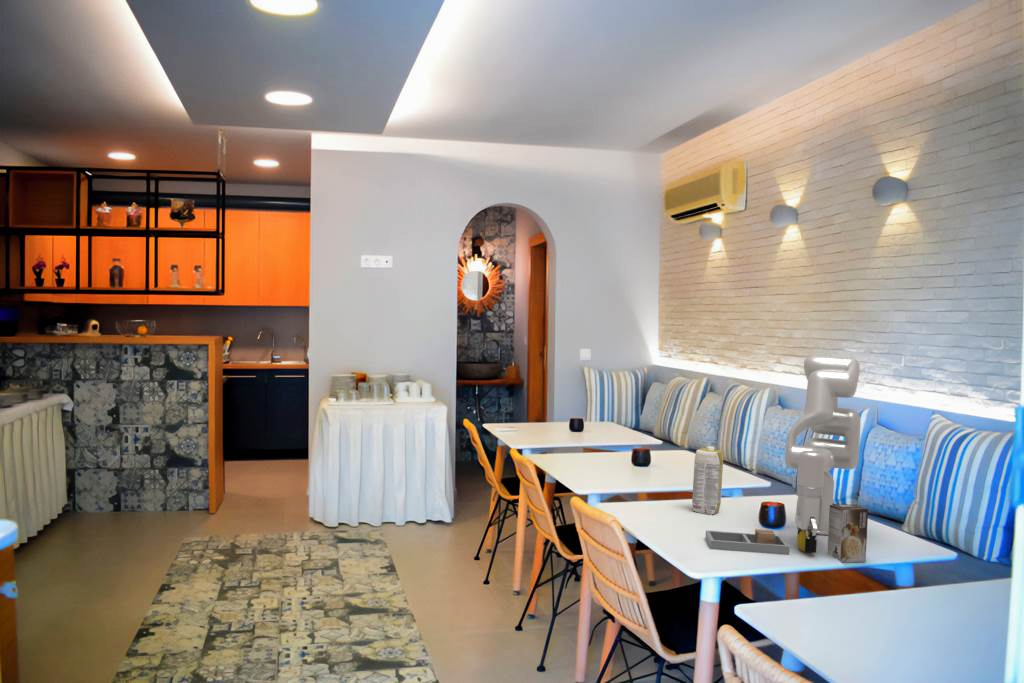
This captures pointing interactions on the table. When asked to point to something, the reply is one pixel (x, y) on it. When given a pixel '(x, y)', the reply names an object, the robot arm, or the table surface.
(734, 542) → the slot tray
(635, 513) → the table surface
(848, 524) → the coffee box
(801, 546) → the lemon
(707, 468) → the juice carton
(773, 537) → the walnut block
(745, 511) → the table surface
